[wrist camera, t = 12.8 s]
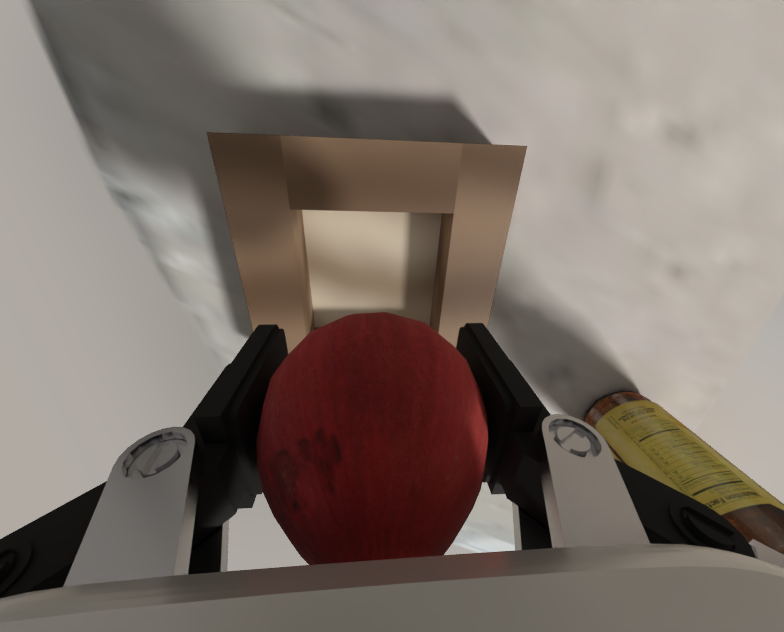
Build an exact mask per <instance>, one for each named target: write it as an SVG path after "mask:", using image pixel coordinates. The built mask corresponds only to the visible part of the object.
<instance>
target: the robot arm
mask: <svg viewBox="0 0 784 632" xmlns="http://www.w3.org/2000/svg"><path fill="white" fill-rule="evenodd" d="M456 349H457V350H458V351H459V352H460V354H461V355H462V356H463V357H464V358H465V359H466V361H467V363H468V365H469V367H470V369H471V371H472V374H473V376H474V378H475V380H476V382H477V384H478V387H479V389H480V391H481V393H482V397H483V401H484V405H485V409H486V413H487V422H488V446H487V455H486V464H485V471H484V476H483V480H482V482H487V483H488V486H489V489H490V491H491V494H506V497H507V498H508V499H509V500H510V501H512V507H513V522H514V537H515V551H502V552H487V553H472V554H458V555H443V556H429V557H415V558H401V559H387V560H373V561H359V562H346V563H332V564H318V565H305V566H292V567H279V568H268V569H267V568H266V569H254V570H240V571H227V563H228V530H229V519H230V518H231V517H232V516H233V515H235V514H236V512H237V509H239V508H252V506H253V503H254V501H255V498H256V495H257V494H262V492H263V490H262V486H261V481H260V477H259V473H258V469H257V452H256V438H257V433H258V429H259V424H260V419H261V414H262V409H263V404H264V401H265V397H266V394H267V390H268V386H269V383H270V379H271V377H272V376H273V374H274V373H275V371H276V370H277V369H278V367H279V366H280V364H281V363H282V362H283V360H284V359H285V358H286V356H287V355H288V349H287V343H286V337H285V332H284V329H279V327H278V325H277V324H263V325H258V326H257V327H256V329H255V330H254V332H253V333H252V334H251V336H250V337H249V339H248V340H247V341H246V343H245V344H244V346H243V347H242V349H241V350H240V351H239V353H238V354H237V356H236V357H235V359H234V360H233V361H232V363H231V364H228V365H227V366H226V367H225V369H224V370H223V372H222V373H221V374H220V376H219V377H218V379H217V380H216V381H215V383H214V384H213V386H212V387H211V388H210V390H209V391H208V393H207V394H206V395H205V397H204V398H203V400H202V401H201V403H200V404H199V405H198V407H197V408H196V410H195V411H194V412H193V414H192V415H191V416H190V418H189V419H188V421H187V422H186V423H185V425H184V426H183V427H171V428H165V429H161V430H158V431H156V432H153V433H151V434H149V435H147V436H145V437H143V438H141V439H139V440H138V441H136V442H135V443H134V444H132V445H131V446H130V447H128V448H127V449H126V450H125V451H124V452H123V454H121V455H120V456H119V458H118V459H117V461H116V463H115V464H114V466H113V468H112V471H111V473H110V475H109V478H108V481H106V482H105V483H103V484H101V485H99V486H97V487H95V488H93V489H92V490H90V491H88V492H86V493H84V494H82V495H81V496H79V497H77V498H75V499H73V500H71V501H70V502H68V503H66V504H64V505H62V506H60V507H59V508H57V509H55V510H53V511H51V512H49V513H48V514H46V515H44V516H42V517H40V518H39V519H37V520H35V521H33V522H31V523H29V524H27V525H26V526H24V527H22V528H20V529H18V530H17V531H15V532H13V533H11V534H9V535H7V536H6V537H4V538H2V539H0V632H784V555H783V554H781V553H779V552H777V551H775V550H774V549H772V548H770V547H768V546H766V545H764V544H762V543H760V542H758V541H756V540H754V539H753V540H751V541H750V542H749V543H748V542H747V540H746V539H745V538H744V536H743V535H742V534H741V533H740V532H739V531H738V530H737V529H736V528H735V527H734V526H733V525H732V524H731V523H730V522H729V521H727V520H726V519H725V518H724V517H722V516H721V515H720V514H718V513H717V512H716V511H714V510H712V509H711V508H709V507H707V506H706V505H704V504H702V503H701V502H699V501H697V500H695V499H693V498H691V497H689V496H687V495H685V494H683V493H681V492H679V491H677V490H675V489H673V488H671V487H669V486H667V485H665V484H663V483H661V482H659V481H658V480H656V479H654V478H652V477H650V476H648V475H646V474H644V473H642V472H640V471H638V470H636V469H634V468H632V467H630V466H628V465H626V464H624V463H622V462H620V461H618V460H616V459H614V458H613V456H612V453H611V451H610V449H609V446H608V444H607V443H606V441H605V439H604V438H603V436H602V435H601V434H600V433H599V432H598V431H597V430H596V429H594V428H593V427H591V426H590V425H589V424H587V423H585V422H584V421H582V420H580V419H578V418H575V417H572V416H569V415H563V414H554V415H550V413H549V412H548V411H547V409H546V408H545V406H544V405H543V404H542V402H541V401H540V400H539V398H538V397H537V396H536V394H535V393H534V391H533V390H532V389H531V387H530V386H529V385H528V383H527V382H526V380H525V379H524V378H523V376H522V375H521V374H520V372H519V371H518V369H517V368H516V367H515V365H514V364H513V363H512V362H511V361H510V360H509V359H508V357H507V356H506V354H505V353H504V352H503V350H502V349H501V348H500V346H499V345H498V343H497V342H496V341H495V339H494V338H493V336H492V335H491V334H490V332H489V331H488V330H487V328H486V327H485V325H484V324H483V323H466V324H465V326H464V327H460V329H459V333H458V339H457V345H456Z"/></svg>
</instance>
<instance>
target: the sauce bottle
mask: <svg viewBox="0 0 784 632" xmlns="http://www.w3.org/2000/svg"><path fill="white" fill-rule="evenodd" d="M584 422H585V423H587V424H589V425H590V426H591V427H593V428H594V429H596V430H597V431H598V432H599V433H600V434H601V435H602V436H603V438H604V439H605V441H606V443H607V444H608V446H609V449H610V451H611V453H612V456H613V458H614V459H616V460H618V461H620V462H622V463H624V464H626V465H628V466H630V467H632V468H634V469H636V470H638V471H640V472H642V473H644V474H646V475H648V476H650V477H652V478H654V479H656V480H658V481H659V482H661V483H663V484H665V485H667V486H669V487H671V488H673V489H675V490H677V491H679V492H681V493H683V494H685V495H687V496H689V497H691V498H693V499H695V500H697V501H699V502H701V503H702V504H704V505H706V506H707V507H709V508H711V509H712V510H714V511H716V512H717V513H718V514H720V515H721V516H722V517H724V518H725V519H726V520H727V521H729V522H730V523H731V524H732V525H733V526H734V527H735V528H736V529H737V530H738V531H739V532H740V533H741V534H742V535H743V536H744V538H745V539H746V540H747V542H748V543H749V542H750V541H751V540H753V539H754V540H756V541H758V542H760V543H762V544H764V545H766V546H768V547H770V548H772V549H774V550H775V551H777V552H779V553H781V554H783V555H784V504H782V503H781V502H780V501H779V500H778V499H776V498H775V497H774V496H772V495H771V494H770V493H769V492H767V491H766V490H765V489H764V488H762V487H761V486H760V485H758V484H757V483H756V482H755V481H753V480H752V479H751V478H750V477H748V476H747V475H746V474H745V473H743V472H742V471H741V470H740V469H738V468H737V467H736V466H734V465H733V464H732V463H731V462H729V461H728V460H727V459H726V458H724V457H723V456H722V455H721V454H719V453H718V452H717V451H716V450H714V449H713V448H712V447H711V446H709V445H708V444H707V443H706V442H704V441H703V440H702V439H701V438H699V437H698V436H697V435H696V434H695V433H693V432H692V431H691V430H689V429H688V428H687V427H686V426H684V425H683V424H682V423H681V422H679V421H678V420H677V419H676V418H674V417H673V416H672V415H671V414H669V413H668V412H667V411H666V410H664V409H663V408H662V407H660V406H659V405H658V404H656V403H654V402H652V401H650V400H649V399H647V398H646V397H644V396H642V395H640V394H637V393H634V392H619V393H614V394H612V395H610V396H606V397H604V398H603V399H601V400H599V401H597V403H596V404H595V405H594V406H593V407H592V408H591V410H590V411H589V412H588V413H587V415H586V417H585V421H584Z"/></svg>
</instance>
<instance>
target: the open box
mask: <svg viewBox="0 0 784 632" xmlns="http://www.w3.org/2000/svg"><path fill="white" fill-rule="evenodd" d="M207 135H208V140H209V144H210V148H211V153H212V157H213V161H214V165H215V170H216V174H217V178H218V183H219V187H220V191H221V195H222V200H223V204H224V208H225V213H226V217H227V221H228V225H229V230H230V234H231V238H232V242H233V247H234V251H235V255H236V260H237V264H238V268H239V272H240V277H241V281H242V285H243V290H244V294H245V298H246V302H247V307H248V311H249V315H250V320H251V324H252V328H253V332H254V330H255V329H256V327H257V326H258V325H263V324H277V325H278V327H279V329H284V332H285V337H286V343H287V349H288V354H289V353H290V352H291V351H292V350H293V349H294V348H295V347H296V346H297V345H298V344H299V343H300V342H301V341H302V340H303V339H304V338H305V337H306V336H307V335H308V334H309V333H310V332H311V331H313V330H315V329H317V328H320V327H322V326H324V325H326V324H329V323H331V322H333V321H335V320H338V319H340V318H342V317H344V316H347V315H351V314H359V313H378V312H387V313H391V314H395V315H399V316H403V317H407V318H410V319H414V320H418V321H422V322H425V323H426V324H427V325H429V326H430V327H431V328H432V329H434V330H435V331H436V332H437V333H438V334H440V335H441V336H442V337H443V338H445V339H446V340H447V341H448V342H449V343H451V344H452V345H453V346H454V347H455V348H456V345H457V339H458V333H459V329H460V327H464V326H465V324H466V323H483V324H484V325H485V327H486V328H487V325H488V321H489V316H490V312H491V307H492V303H493V298H494V294H495V289H496V285H497V280H498V276H499V271H500V267H501V262H502V257H503V253H504V248H505V244H506V239H507V235H508V230H509V226H510V221H511V217H512V212H513V208H514V203H515V199H516V194H517V190H518V185H519V181H520V176H521V172H522V167H523V163H524V158H525V154H526V149H527V146H515V145H491V144H468V143H445V142H422V141H399V140H376V139H352V138H329V137H306V136H283V135H260V134H236V133H213V132H207Z"/></svg>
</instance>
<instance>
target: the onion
mask: <svg viewBox="0 0 784 632" xmlns="http://www.w3.org/2000/svg"><path fill="white" fill-rule="evenodd" d="M487 446H488V422H487V413H486V409H485V405H484V401H483V397H482V393H481V391H480V389H479V387H478V384H477V382H476V380H475V378H474V376H473V374H472V371H471V369H470V367H469V365H468V363H467V361H466V359H465V358H464V357H463V356H462V355H461V354H460V352H459V351H458V350H457V349H456V348H455V347H454V346H453V345H452V344H451V343H449V342H448V341H447V340H446V339H445V338H443V337H442V336H441V335H440V334H438V333H437V332H436V331H435V330H434V329H432V328H431V327H430V326H429V325H427V324H426V323H425V322H422V321H418V320H414V319H410V318H407V317H403V316H399V315H395V314H391V313H387V312H378V313H359V314H351V315H347V316H344V317H342V318H340V319H338V320H335V321H333V322H331V323H329V324H326V325H324V326H322V327H320V328H317V329H315V330H313V331H311V332H310V333H309V334H308V335H307V336H306V337H305V338H304V339H303V340H302V341H301V342H300V343H299V344H298V345H297V346H296V347H295V348H294V349H293V350H292V351H291V352H290V353H289V354H288V355H287V356H286V358H285V359H284V360H283V362H282V363H281V364H280V366H279V367H278V369H277V370H276V371H275V373H274V374H273V376H272V377H271V379H270V383H269V386H268V390H267V394H266V397H265V401H264V404H263V409H262V414H261V419H260V424H259V429H258V433H257V438H256V452H257V469H258V473H259V477H260V481H261V486H262V490H263V493H264V495H265V498H266V500H267V502H268V504H269V507H270V509H271V511H272V513H273V515H274V517H275V519H276V520H277V522H278V523H279V525H280V526H281V528H282V529H283V531H284V532H285V534H286V536H287V537H288V539H289V540H290V541H291V543H292V544H293V545H294V547H295V549H296V550H297V551H298V553H299V554H300V555H301V557H302V558H303V559H304V560H305V561H306V562H307V563H308V564H309V565H318V564H332V563H346V562H359V561H373V560H387V559H401V558H415V557H429V556H443V555H444V554H445V552H446V551H447V550H448V548H449V547H450V545H451V544H452V543H453V541H454V540H455V538H456V536H457V535H458V533H459V531H460V530H461V528H462V526H463V525H464V523H465V521H466V519H467V518H468V516H469V514H470V512H471V511H472V509H473V507H474V504H475V502H476V499H477V497H478V494H479V492H480V489H481V485H482V480H483V476H484V471H485V464H486V455H487Z"/></svg>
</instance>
